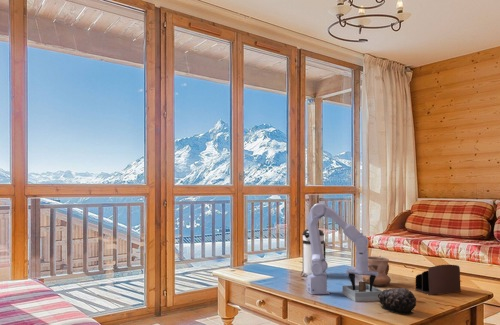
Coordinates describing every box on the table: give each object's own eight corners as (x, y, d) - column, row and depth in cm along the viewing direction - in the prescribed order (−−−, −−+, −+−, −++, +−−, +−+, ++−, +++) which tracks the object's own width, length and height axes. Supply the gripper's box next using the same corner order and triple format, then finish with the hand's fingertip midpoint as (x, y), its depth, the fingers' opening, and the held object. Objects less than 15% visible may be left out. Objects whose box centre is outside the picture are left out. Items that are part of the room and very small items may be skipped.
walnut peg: (360, 298, 198) (360, 283, 198) (357, 296, 201) (357, 281, 201) (366, 298, 198) (366, 282, 198) (364, 296, 201) (364, 281, 201)
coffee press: (330, 279, 238) (329, 225, 240) (301, 278, 239) (301, 225, 241) (325, 273, 256) (325, 223, 258) (299, 272, 256) (298, 223, 258)
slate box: (355, 301, 191) (355, 292, 192) (342, 294, 205) (342, 285, 205) (383, 300, 194) (383, 291, 194) (369, 292, 208) (369, 284, 208)
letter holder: (461, 292, 210) (460, 263, 211) (429, 295, 203) (429, 266, 204) (445, 287, 220) (444, 260, 220) (415, 291, 213) (414, 262, 213)
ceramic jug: (375, 289, 215) (375, 261, 216) (355, 283, 228) (355, 256, 229) (399, 286, 224) (399, 259, 225) (378, 280, 237) (378, 254, 238)
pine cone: (383, 303, 188) (383, 281, 189) (421, 313, 174) (420, 288, 175) (369, 307, 182) (369, 284, 183) (407, 317, 168) (406, 292, 169)
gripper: (345, 261, 200) (345, 290, 199) (376, 264, 194) (377, 294, 193) (347, 259, 206) (348, 287, 205) (378, 261, 201) (378, 290, 200)
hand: (362, 290), depth 200 cm, fingers open, 7 cm apart
